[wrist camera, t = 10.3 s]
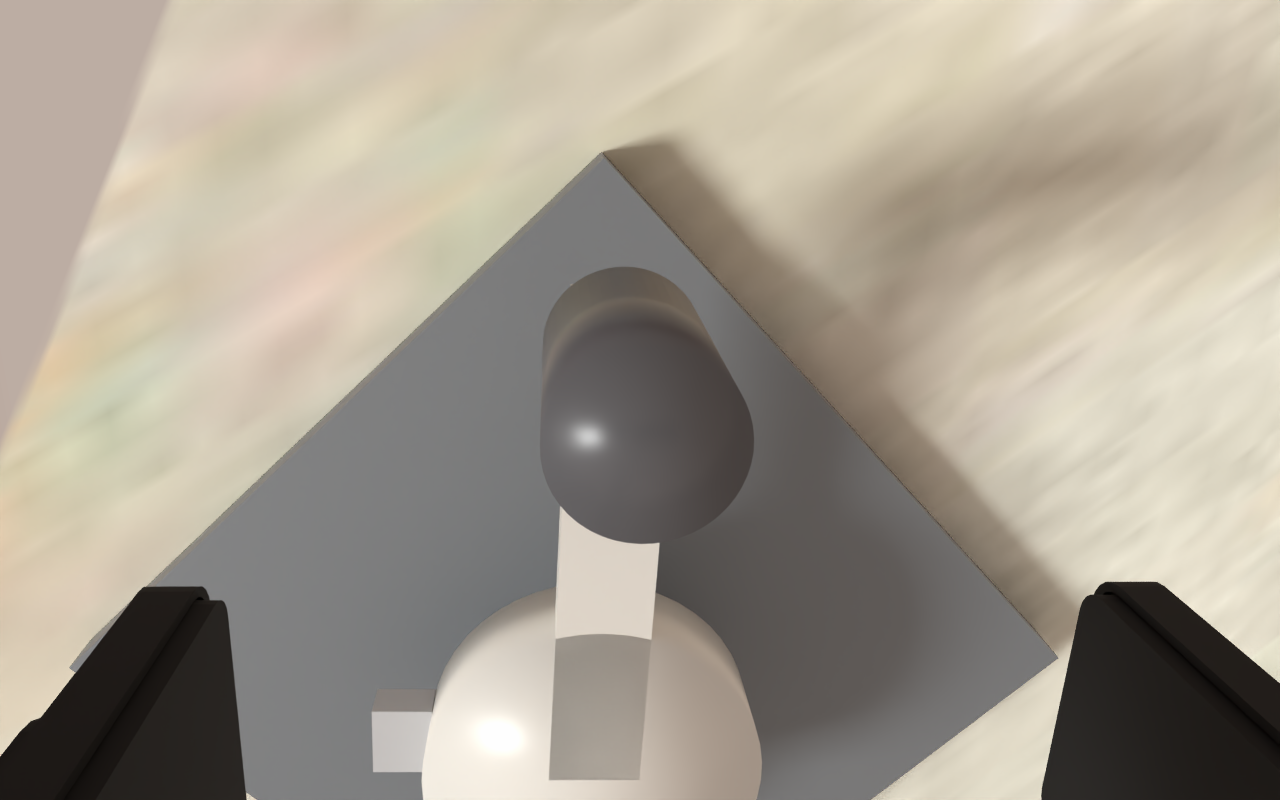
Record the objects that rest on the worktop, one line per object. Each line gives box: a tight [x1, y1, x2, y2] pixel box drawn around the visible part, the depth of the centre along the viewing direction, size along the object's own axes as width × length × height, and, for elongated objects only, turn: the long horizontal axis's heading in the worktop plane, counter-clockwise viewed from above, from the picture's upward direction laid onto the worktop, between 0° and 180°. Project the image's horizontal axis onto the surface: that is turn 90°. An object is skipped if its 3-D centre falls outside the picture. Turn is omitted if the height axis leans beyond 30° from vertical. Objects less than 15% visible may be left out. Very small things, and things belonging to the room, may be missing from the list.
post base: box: [69, 152, 1058, 800], centre depth 31 cm, size 22×22×4 cm
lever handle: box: [372, 267, 762, 800], centre depth 23 cm, size 20×10×8 cm, turn 176°
